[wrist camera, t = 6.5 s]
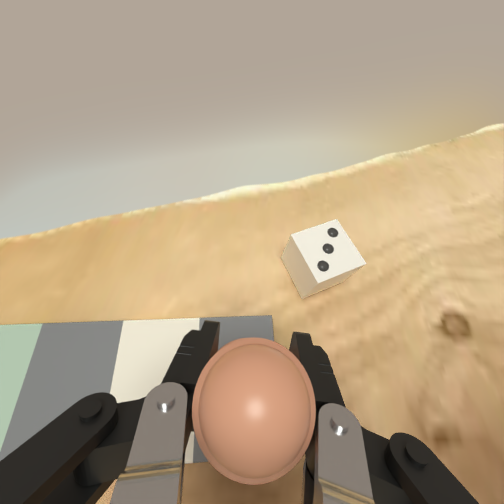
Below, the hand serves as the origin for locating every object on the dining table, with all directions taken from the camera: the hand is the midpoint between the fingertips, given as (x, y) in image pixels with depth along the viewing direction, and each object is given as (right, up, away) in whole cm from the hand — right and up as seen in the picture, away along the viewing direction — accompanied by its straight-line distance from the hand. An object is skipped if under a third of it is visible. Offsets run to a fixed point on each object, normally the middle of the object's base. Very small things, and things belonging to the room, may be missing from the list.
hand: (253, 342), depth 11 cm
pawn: (0, -3, +2) cm, 4 cm away
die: (+6, +2, +14) cm, 16 cm away
